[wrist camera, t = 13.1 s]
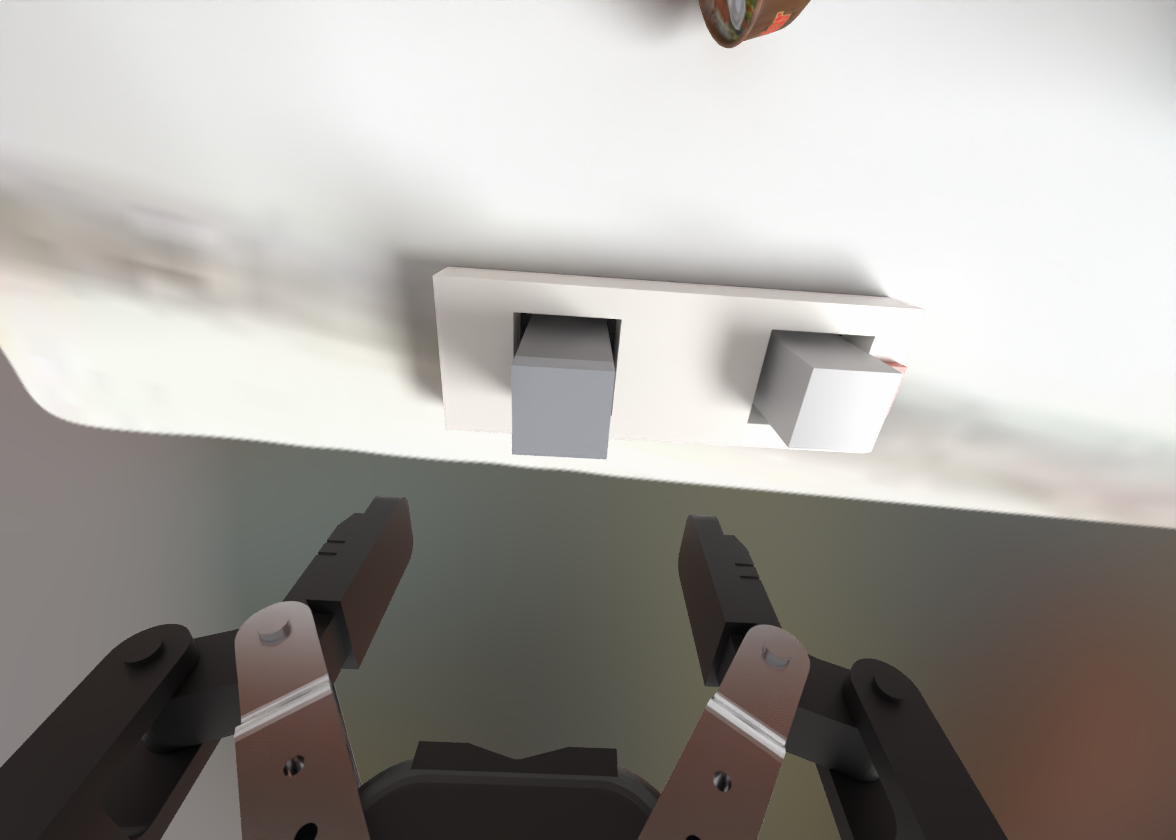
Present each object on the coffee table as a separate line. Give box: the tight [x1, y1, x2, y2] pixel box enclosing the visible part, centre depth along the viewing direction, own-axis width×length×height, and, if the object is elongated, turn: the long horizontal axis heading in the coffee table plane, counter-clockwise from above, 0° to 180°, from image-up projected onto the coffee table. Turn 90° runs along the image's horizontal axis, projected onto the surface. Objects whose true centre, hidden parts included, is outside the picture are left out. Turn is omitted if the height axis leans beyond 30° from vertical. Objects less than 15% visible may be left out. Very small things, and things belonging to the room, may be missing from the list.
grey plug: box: [753, 329, 903, 452], centre depth 25 cm, size 4×4×7 cm
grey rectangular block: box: [511, 313, 615, 459], centre depth 24 cm, size 4×4×9 cm
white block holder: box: [432, 266, 924, 453], centre depth 26 cm, size 9×26×4 cm, turn 86°
